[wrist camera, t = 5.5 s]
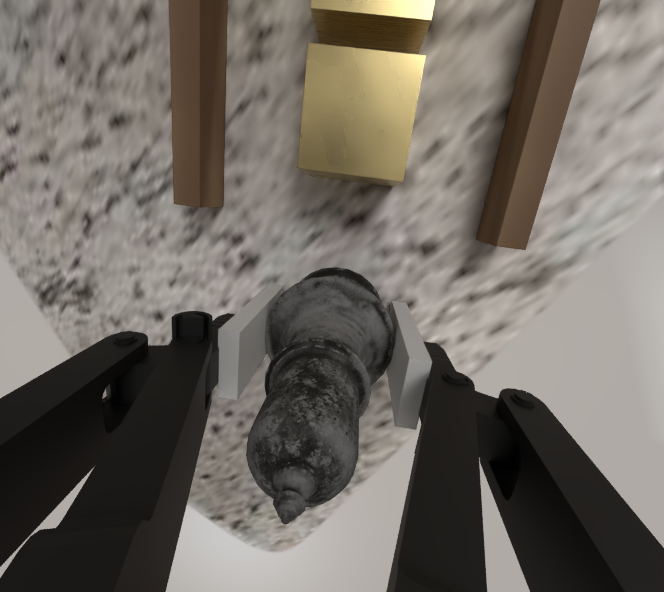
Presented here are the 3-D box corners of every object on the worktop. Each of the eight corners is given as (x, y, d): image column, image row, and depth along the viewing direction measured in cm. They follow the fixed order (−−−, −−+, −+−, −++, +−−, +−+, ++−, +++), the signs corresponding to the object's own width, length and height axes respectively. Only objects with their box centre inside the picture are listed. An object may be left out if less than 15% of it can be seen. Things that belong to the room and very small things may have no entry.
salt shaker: (403, 280, 17) (495, 449, 5) (369, 374, 18) (382, 655, 7) (297, 248, 17) (156, 347, 5) (272, 345, 18) (127, 577, 7)
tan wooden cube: (312, 176, 16) (297, 168, 12) (322, 84, 15) (308, 42, 11) (392, 186, 16) (403, 181, 12) (408, 94, 14) (426, 55, 11)
